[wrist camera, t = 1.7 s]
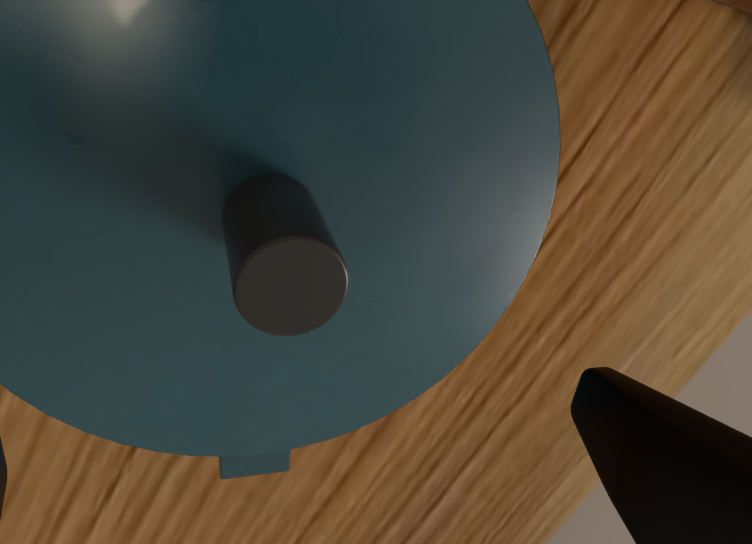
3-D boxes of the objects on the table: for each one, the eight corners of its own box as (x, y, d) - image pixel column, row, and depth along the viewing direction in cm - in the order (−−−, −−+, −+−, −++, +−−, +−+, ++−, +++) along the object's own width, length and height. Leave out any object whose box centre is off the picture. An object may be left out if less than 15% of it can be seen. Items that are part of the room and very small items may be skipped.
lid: (-27, 461, 18) (-86, 614, 14) (-221, -265, 10) (-481, -388, 6) (479, 407, 22) (544, 508, 19) (612, -108, 15) (768, -120, 11)
